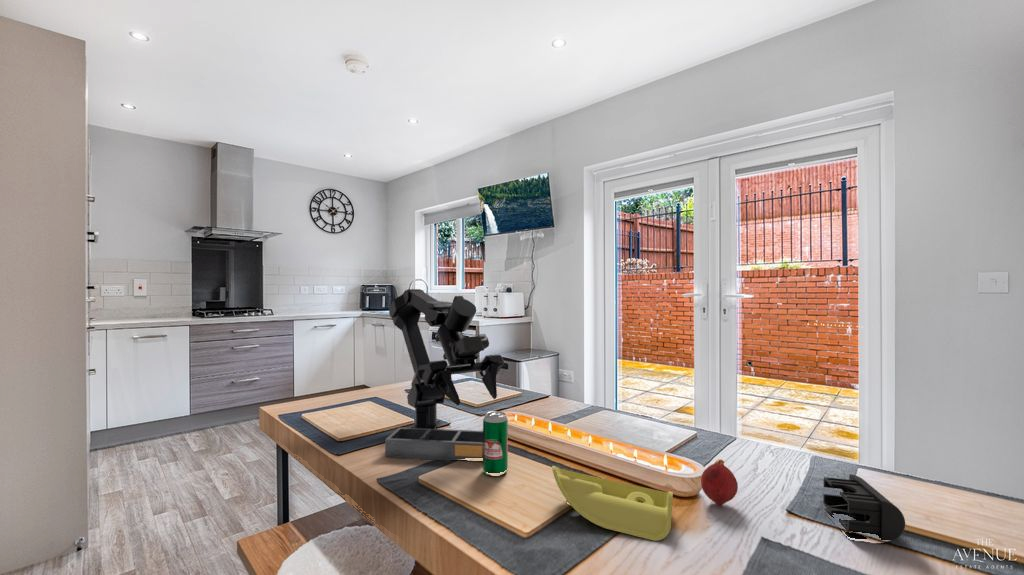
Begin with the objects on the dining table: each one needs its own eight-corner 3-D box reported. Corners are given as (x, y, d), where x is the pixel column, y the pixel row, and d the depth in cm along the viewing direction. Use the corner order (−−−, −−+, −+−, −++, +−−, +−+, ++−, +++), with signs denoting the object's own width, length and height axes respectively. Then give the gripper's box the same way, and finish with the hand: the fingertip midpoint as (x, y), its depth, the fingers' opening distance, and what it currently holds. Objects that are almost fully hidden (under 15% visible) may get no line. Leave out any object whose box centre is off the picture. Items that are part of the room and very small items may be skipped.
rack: (398, 444, 108) (398, 427, 108) (493, 448, 105) (493, 431, 105) (384, 457, 99) (384, 439, 99) (487, 462, 97) (487, 444, 97)
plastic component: (670, 493, 78) (673, 491, 70) (667, 540, 75) (669, 544, 67) (559, 469, 85) (549, 464, 76) (552, 511, 82) (541, 512, 73)
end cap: (905, 549, 66) (906, 504, 66) (850, 542, 68) (850, 498, 67) (869, 515, 75) (870, 475, 75) (821, 510, 77) (822, 471, 77)
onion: (722, 516, 75) (722, 468, 75) (693, 501, 80) (694, 456, 80) (744, 508, 78) (744, 462, 77) (715, 494, 83) (716, 451, 83)
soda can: (478, 475, 90) (479, 416, 90) (489, 465, 95) (489, 409, 95) (502, 479, 89) (502, 419, 88) (511, 469, 93) (511, 412, 93)
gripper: (427, 324, 97) (451, 385, 88) (500, 320, 107) (527, 374, 98) (413, 356, 103) (434, 415, 94) (483, 349, 114) (507, 402, 105)
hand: (477, 401), depth 98 cm, fingers open, 9 cm apart
